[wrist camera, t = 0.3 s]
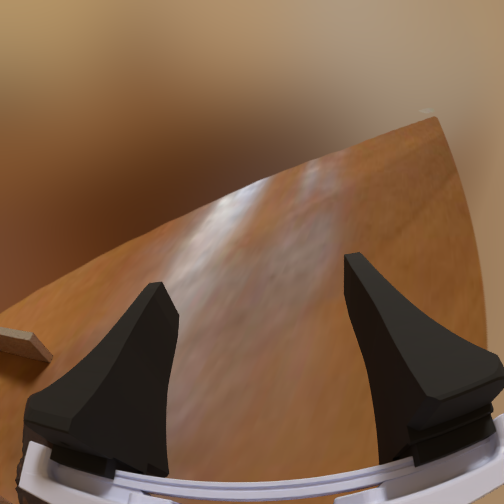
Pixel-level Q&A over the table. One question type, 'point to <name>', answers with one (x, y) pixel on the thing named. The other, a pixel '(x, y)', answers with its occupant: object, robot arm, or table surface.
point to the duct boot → (22, 351)
